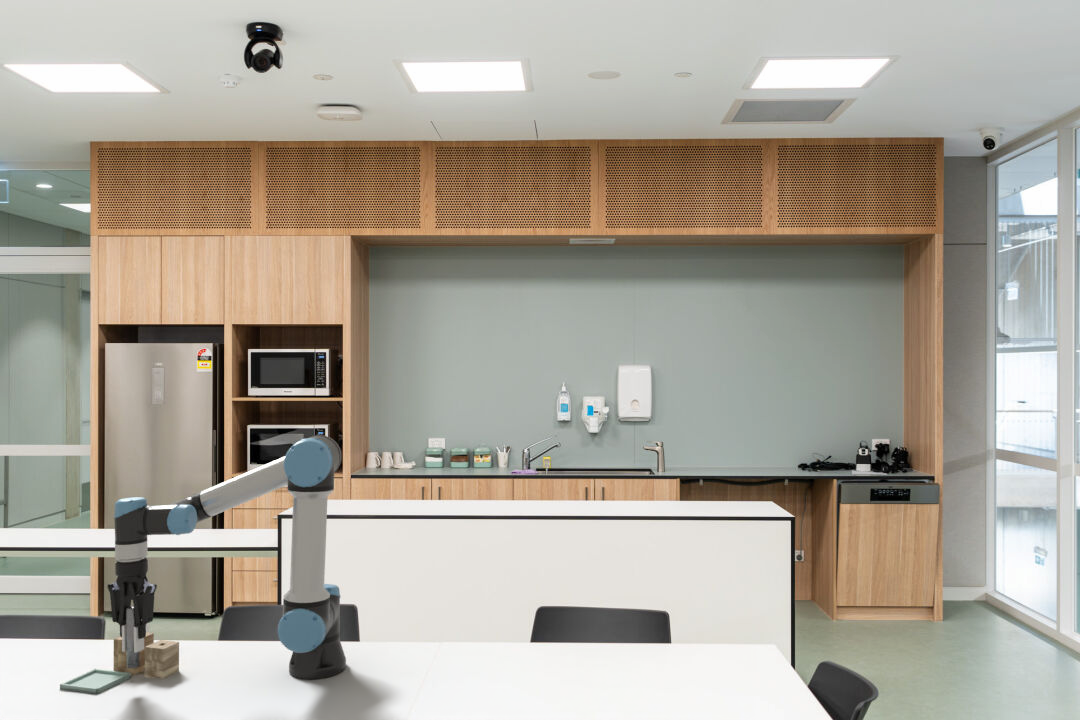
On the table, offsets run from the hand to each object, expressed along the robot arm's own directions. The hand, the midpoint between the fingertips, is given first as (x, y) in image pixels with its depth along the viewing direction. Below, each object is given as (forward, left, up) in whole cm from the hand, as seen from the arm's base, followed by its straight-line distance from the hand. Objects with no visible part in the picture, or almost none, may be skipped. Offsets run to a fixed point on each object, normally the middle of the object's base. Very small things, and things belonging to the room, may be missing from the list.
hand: (133, 650), depth 212 cm
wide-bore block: (+11, -13, -10) cm, 20 cm away
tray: (+13, -2, -10) cm, 17 cm away
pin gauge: (0, 0, -4) cm, 4 cm away
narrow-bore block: (+1, -12, -10) cm, 16 cm away
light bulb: (+18, -22, -11) cm, 30 cm away
